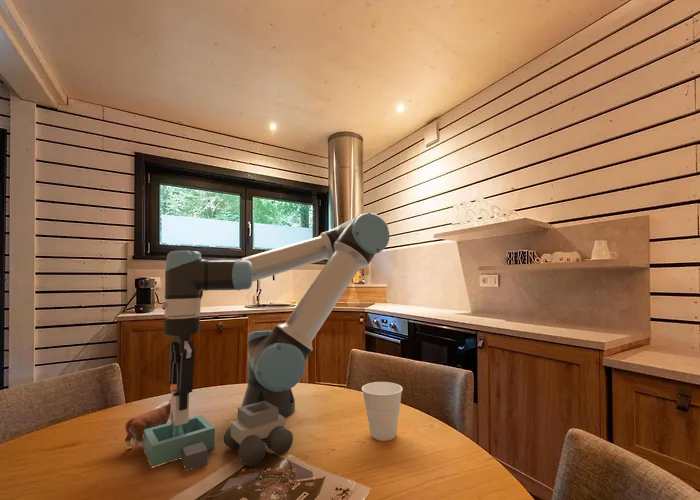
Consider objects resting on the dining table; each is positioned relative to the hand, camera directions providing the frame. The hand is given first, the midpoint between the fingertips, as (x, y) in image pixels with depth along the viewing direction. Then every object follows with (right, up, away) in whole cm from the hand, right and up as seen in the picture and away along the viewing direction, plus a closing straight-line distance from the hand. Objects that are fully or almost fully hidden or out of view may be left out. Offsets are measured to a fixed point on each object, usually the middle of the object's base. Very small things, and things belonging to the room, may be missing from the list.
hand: (179, 421), depth 75 cm
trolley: (+18, -5, -2) cm, 19 cm away
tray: (0, -6, -1) cm, 6 cm away
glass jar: (0, -5, -1) cm, 5 cm away
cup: (+47, -6, +4) cm, 47 cm away
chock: (+7, -5, -7) cm, 11 cm away
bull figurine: (-8, -7, +4) cm, 11 cm away
